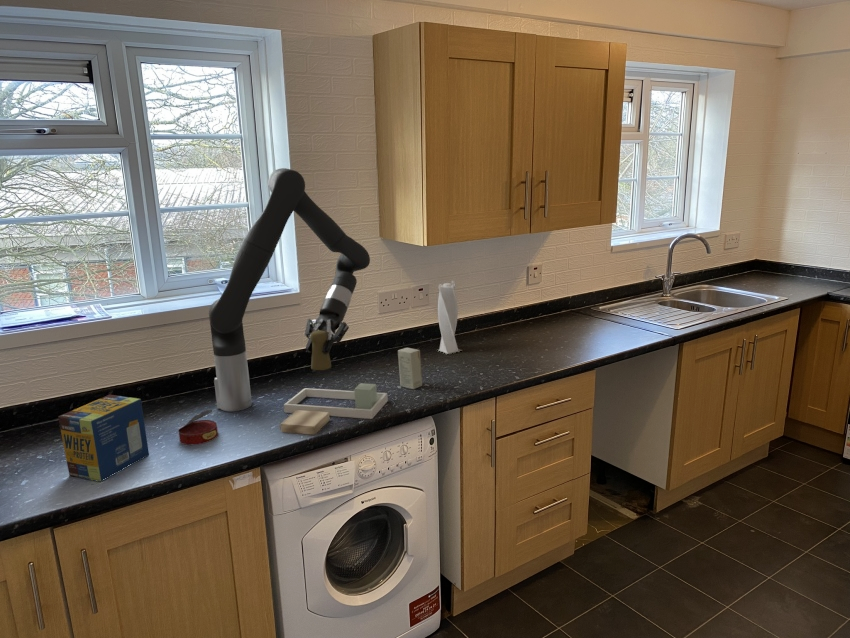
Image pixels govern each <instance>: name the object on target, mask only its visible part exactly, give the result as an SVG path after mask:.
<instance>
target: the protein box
mask: <svg viewBox="0 0 850 638" xmlns="http://www.w3.org/2000/svg"><path fill="white" fill-rule="evenodd" d="M142 405H143V403H142V399H141V398H137V397H129V396H122V395H114V394H108V395H106V396H103V397H101V398H98V399H96V400H93V401H91V402H89V403H87V404H84V405H82V406H80V407H78V408H74V409H73V410H70V411H68V412H66V413H63V414H61V415H58V416H57V417H58V422H59V428H60V433H61V438H62V443H63V448H64V454H65V459H66V467H67V470H68V476H70V477H73V476H75V477H74V478H78V477H80V478H79V479H83V478H85V479H84V480H88V479H91V480H90V481H93V480H97V481H96V482H98V481H102V480H103V479H105V478H107V477H109V476H110V475H112V474H114V473H116V472H118V471H120V470H121V471H123V470H124V469H123V468H125V467H127V466H128V465H130V464H132V463H134V462H136V461H137V462H139V461H140V459H141V460H142V458H143V457H144V458H146V457H148V456H149V455H150V452H149V446H148V445H149V444H148V440H147V439H148V438H147V432H146V431H147V430H146V425H145V419H144V414H143V411H144V410H143V406H142ZM147 455H148V456H147ZM145 456H146V457H145ZM144 458H143V459H144ZM138 460H139V461H138ZM137 462H136V463H137ZM134 464H135V463H134ZM132 465H133V464H132ZM130 466H131V465H130ZM128 467H129V466H128ZM128 467H127V468H128ZM122 469H123V470H122ZM125 469H126V468H125ZM121 471H120V472H121ZM118 473H119V472H118ZM116 474H117V473H116ZM114 475H115V474H114ZM109 478H110V477H109ZM107 479H108V478H107ZM105 480H106V479H105ZM102 482H103V481H102Z"/></svg>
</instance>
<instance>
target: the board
mask: <svg viewBox="0 0 850 638" xmlns="http://www.w3.org/2000/svg"><path fill="white" fill-rule="evenodd" d="M330 418H331V417H330V416H329V412H318V411H304V410H296V411H295V412H294V413H290V415H289V416H288V417H286V418H285V419H284V420H283V421H282V422H281V423H280V425H279V426H280V433H288V434H290V433H291V434H303V435H313V436H315V435H316V434H317V433H318V432H319V431H320V430H321V429H322V428H323V427H325V426H326V424H328V422H330V420H331V419H330Z"/></svg>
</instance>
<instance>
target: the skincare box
mask: <svg viewBox="0 0 850 638" xmlns="http://www.w3.org/2000/svg"><path fill="white" fill-rule="evenodd" d="M397 357H398V371H399V385H400V387H403V388H407V389H410V390H416V389H418V388H420V387H422V386H423V377H422V362H421V361H422V360H421V350H420V349H416V348H411V347H404V348H401V349H398V350H397Z"/></svg>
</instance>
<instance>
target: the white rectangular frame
mask: <svg viewBox="0 0 850 638" xmlns="http://www.w3.org/2000/svg"><path fill="white" fill-rule="evenodd" d="M309 397H310V398H319V399H320V398H323V399H336V400H337V399H339V400H350V401H351V400H352V401H355V393H354V390H343V389H342V390H340V389H327V388H326V389H325V388H324V389H323V388H307V387H305V388H303V389H301V390H300V391H299V392H297V394H295V395H294V396H293V397H292V398H290V399H289V400H288V401H287V402H285V403H284V404H283V411H284V413H286V414H293V413H294V412H295V411H296V410H304V411H318V412H329V417H339V418H341V417H342V418H356V419H369V420H373V419H374V417H375V416H376V415H377V414H378V413H379V412H380V411H381V409H382V408H383V407H384V406H385V405H386V404H387V402H388V393H387V392H377V403H376V404H375V405H374V406H373V407H372V408H371V409H370V410H369V409H356V408H355V407H354V408H353V407H352V408H351V407H340V406H339V407H338V406H324V405H323V406H322V405H309V404H299V403H301V402H302V401H304V399H305V398H309Z"/></svg>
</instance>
